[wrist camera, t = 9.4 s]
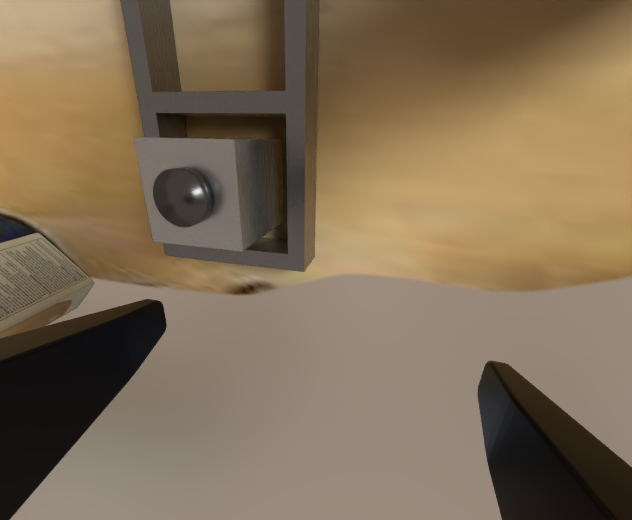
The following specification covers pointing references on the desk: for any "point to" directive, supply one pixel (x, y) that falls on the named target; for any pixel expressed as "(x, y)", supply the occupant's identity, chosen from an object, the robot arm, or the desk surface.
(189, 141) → the knobbed drawer box
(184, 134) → the two-cubby grey shelf
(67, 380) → the robot arm
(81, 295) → the skincare box
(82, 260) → the desk surface
